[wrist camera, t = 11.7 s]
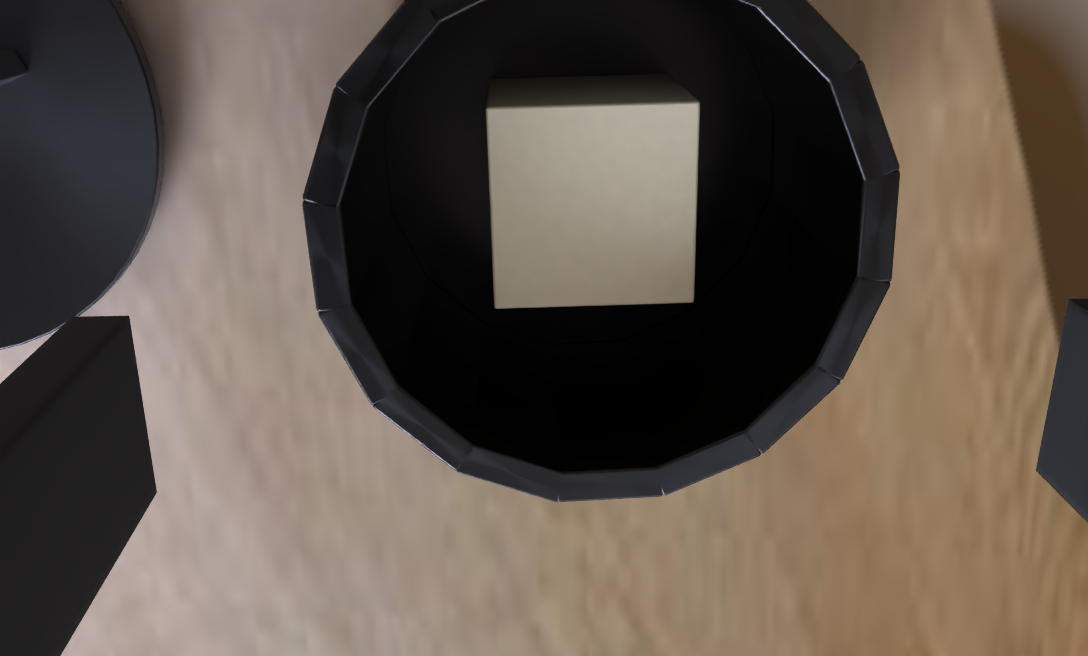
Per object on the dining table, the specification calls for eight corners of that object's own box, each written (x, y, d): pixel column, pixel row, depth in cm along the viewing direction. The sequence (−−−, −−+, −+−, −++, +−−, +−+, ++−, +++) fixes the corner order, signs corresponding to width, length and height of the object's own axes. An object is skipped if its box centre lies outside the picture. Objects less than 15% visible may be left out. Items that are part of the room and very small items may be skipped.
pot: (279, 53, 29) (190, 100, 21) (699, -159, 27) (776, -193, 19) (480, 422, 33) (471, 577, 25) (854, 257, 31) (971, 369, 24)
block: (496, 251, 31) (494, 309, 26) (489, 77, 29) (485, 106, 24) (666, 246, 31) (694, 303, 26) (669, 73, 29) (701, 101, 24)
